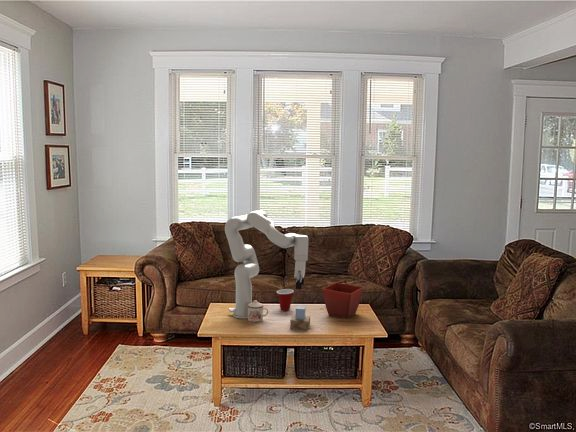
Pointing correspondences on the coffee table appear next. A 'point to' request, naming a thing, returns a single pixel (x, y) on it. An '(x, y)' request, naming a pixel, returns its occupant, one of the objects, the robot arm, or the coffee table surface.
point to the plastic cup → (285, 298)
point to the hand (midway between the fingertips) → (299, 287)
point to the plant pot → (342, 299)
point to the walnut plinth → (300, 323)
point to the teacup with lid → (256, 311)
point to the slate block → (300, 313)
